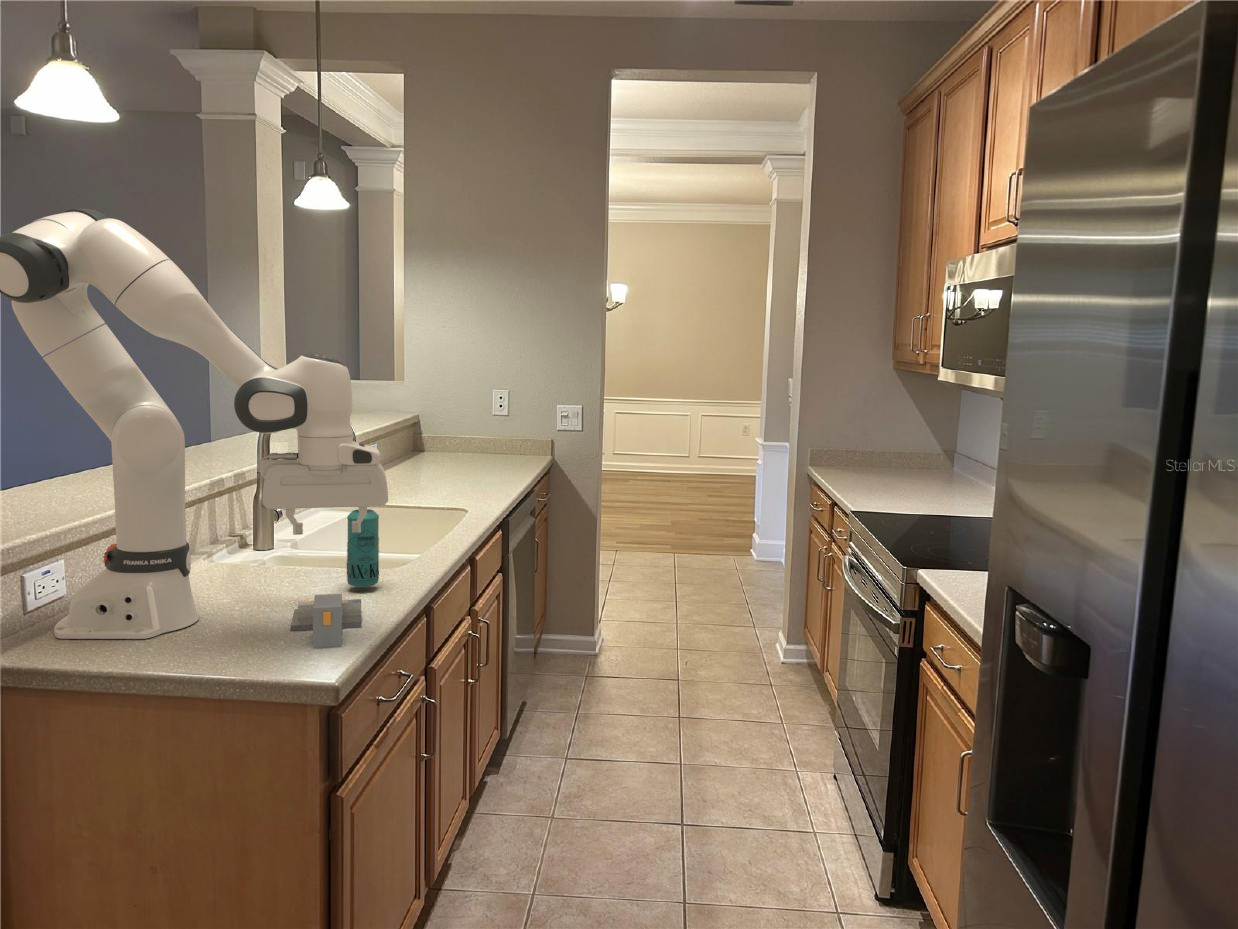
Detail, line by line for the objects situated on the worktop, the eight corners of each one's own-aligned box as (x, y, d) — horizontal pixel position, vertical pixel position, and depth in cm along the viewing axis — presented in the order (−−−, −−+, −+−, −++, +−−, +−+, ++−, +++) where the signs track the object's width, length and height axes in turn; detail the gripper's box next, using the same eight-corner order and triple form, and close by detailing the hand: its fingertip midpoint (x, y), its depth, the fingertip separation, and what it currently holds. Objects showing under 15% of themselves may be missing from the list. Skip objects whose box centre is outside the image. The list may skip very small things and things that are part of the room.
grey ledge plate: (290, 631, 161) (290, 611, 161) (294, 614, 171) (294, 596, 170) (361, 627, 165) (361, 608, 164) (361, 611, 174) (361, 593, 174)
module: (313, 650, 152) (312, 609, 151) (315, 633, 161) (315, 594, 160) (341, 648, 154) (340, 608, 153) (342, 632, 162) (341, 593, 161)
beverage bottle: (340, 589, 189) (339, 493, 186) (370, 583, 193) (369, 490, 190) (356, 596, 184) (355, 498, 181) (386, 590, 189) (385, 494, 186)
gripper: (257, 455, 147) (260, 539, 149) (388, 453, 153) (389, 534, 155) (261, 450, 153) (264, 531, 155) (387, 449, 159) (388, 527, 161)
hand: (327, 533), depth 155 cm, fingers open, 8 cm apart
